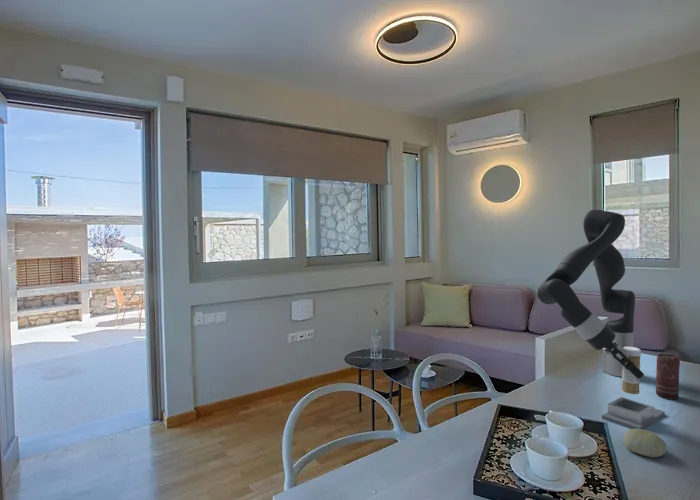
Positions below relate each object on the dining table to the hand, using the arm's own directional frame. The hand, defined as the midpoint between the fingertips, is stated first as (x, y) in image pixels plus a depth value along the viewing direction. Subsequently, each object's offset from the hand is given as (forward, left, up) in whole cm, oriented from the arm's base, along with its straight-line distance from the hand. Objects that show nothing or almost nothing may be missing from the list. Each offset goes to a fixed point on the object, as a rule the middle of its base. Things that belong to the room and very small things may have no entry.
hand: (638, 373), depth 125 cm
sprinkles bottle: (-2, -1, -6) cm, 6 cm away
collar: (-1, -1, -13) cm, 13 cm away
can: (-1, +27, -14) cm, 31 cm away
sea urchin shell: (+8, -18, -14) cm, 25 cm away
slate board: (-1, +1, -14) cm, 14 cm away
